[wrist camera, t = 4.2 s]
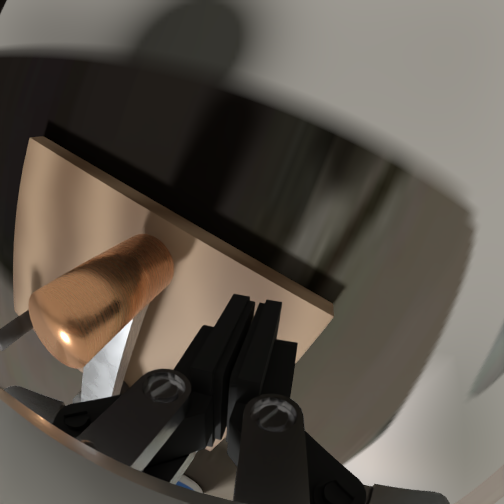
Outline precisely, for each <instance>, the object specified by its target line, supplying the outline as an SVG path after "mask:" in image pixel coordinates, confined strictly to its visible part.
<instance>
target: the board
mask: <svg viewBox="0 0 504 504" xmlns="http://www.w3.org/2000/svg"><path fill="white" fill-rule="evenodd" d="M138 234H148V235H151V236H154V237H156V238H157V239H159V240H160V241H161V242H162V243H163V244H164V245H165V246H166V247H167V249H168V250H169V252H170V254H171V256H172V259H173V263H174V274H173V278H172V280H171V282H170V284H169V285H168V286H167V287H166V288H165V289H164V290H163V291H162V292H160V293H159V294H158V295H157V296H156V297H155V298H154V299H153V300H152V301H151V302H150V303H149V305H148V308H147V311H146V313H145V316H144V319H143V322H142V325H141V328H140V331H139V334H138V336H137V339H136V342H135V345H134V349H133V352H132V355H131V358H130V361H129V364H128V367H127V371H126V374H125V377H124V380H123V384H122V387H121V391H120V394H123V393H125V392H126V391H127V390H128V389H129V388H130V387H131V386H132V385H133V384H134V383H135V382H136V381H137V380H138V379H139V378H140V377H141V376H143V375H144V374H146V373H147V372H149V371H152V370H156V369H172V370H174V368H175V366H176V365H177V363H178V362H179V360H180V359H181V357H182V356H183V354H184V353H185V351H186V350H187V348H188V347H189V345H190V344H191V342H192V341H193V339H194V337H195V336H196V334H197V333H198V331H199V330H200V328H201V327H202V326H203V325H208V326H212V327H214V326H215V324H216V323H217V321H218V319H219V318H220V316H221V314H222V312H223V311H224V309H225V307H226V306H227V304H228V302H229V301H230V299H231V297H232V295H233V294H239V295H244V296H250V301H254V302H255V310H254V315H255V313H256V310H257V308H258V305H259V303H265V302H266V300H273V301H279V302H282V309H281V315H280V321H279V327H278V333H277V339H279V340H285V341H291V342H297V343H298V346H297V353H296V361H295V363H296V362H297V361H298V360H299V359H300V358H301V356H302V355H303V354H304V353H305V352H306V350H307V349H308V348H309V347H310V346H311V344H312V343H313V342H314V341H315V340H316V338H317V337H318V336H319V335H320V333H321V332H322V331H323V330H324V329H325V327H326V326H327V325H328V323H329V322H330V321H331V320H332V318H333V317H334V312H333V303H331V302H329V301H327V300H326V299H324V298H322V297H320V296H319V295H317V294H315V293H313V292H312V291H310V290H308V289H306V288H305V287H303V286H301V285H299V284H298V283H296V282H294V281H292V280H291V279H289V278H287V277H285V276H284V275H282V274H280V273H278V272H277V271H275V270H273V269H271V268H270V267H268V266H266V265H264V264H263V263H261V262H259V261H257V260H256V259H254V258H252V257H250V256H249V255H247V254H245V253H244V252H242V251H240V250H238V249H237V248H235V247H233V246H231V245H230V244H228V243H226V242H224V241H223V240H221V239H219V238H217V237H216V236H214V235H212V234H211V233H209V232H207V231H205V230H204V229H202V228H200V227H198V226H197V225H195V224H193V223H191V222H190V221H188V220H186V219H185V218H183V217H181V216H179V215H178V214H176V213H174V212H172V211H171V210H169V209H167V208H166V207H164V206H162V205H160V204H159V203H157V202H155V201H153V200H152V199H150V198H148V197H147V196H145V195H143V194H141V193H140V192H138V191H136V190H135V189H133V188H131V187H129V186H128V185H126V184H124V183H122V182H121V181H119V180H117V179H116V178H114V177H112V176H110V175H109V174H107V173H105V172H104V171H102V170H100V169H98V168H97V167H95V166H93V165H92V164H90V163H88V162H87V161H85V160H83V159H81V158H80V157H78V156H76V155H75V154H73V153H71V152H69V151H68V150H66V149H64V148H63V147H61V146H59V145H58V144H56V143H54V142H52V141H51V140H49V139H47V138H46V137H44V136H43V137H30V139H29V143H28V148H27V152H26V157H25V162H24V167H23V172H22V177H21V183H20V190H19V197H18V205H17V213H16V223H15V236H14V258H13V288H14V309H15V312H16V313H17V314H18V315H19V316H18V317H17V318H15V319H14V320H12V321H11V322H10V323H8V324H7V325H5V326H4V327H2V328H1V329H0V350H1V351H3V350H4V349H6V348H7V347H8V346H10V345H11V344H12V343H13V342H15V341H16V340H17V339H19V338H20V337H21V336H23V335H24V334H25V333H27V332H28V331H29V330H31V329H33V330H34V331H35V329H34V327H33V325H32V322H31V319H30V315H29V307H28V304H29V298H30V296H31V294H32V293H33V292H35V291H36V290H38V289H40V288H41V287H43V286H45V285H46V284H48V283H50V282H51V281H53V280H55V279H56V278H58V277H60V276H61V275H63V274H65V273H67V272H68V271H70V270H72V269H74V268H75V267H77V266H79V265H81V264H83V263H84V262H86V261H88V260H90V259H92V258H93V257H95V256H97V255H99V254H101V253H103V252H104V251H106V250H108V249H110V248H112V247H114V246H116V245H118V244H119V243H121V242H123V241H125V240H127V239H129V238H131V237H133V236H135V235H138ZM35 332H36V331H35ZM83 369H84V367H83V368H78V370H80V371H81V372H82V373H83ZM120 394H119V395H120ZM226 432H227V427H226V430H225V432H224V435H223V438H222V440H223V439H224V438H225V437H226ZM222 440H218V439H215V442H214V444H213V447H209V446H207V447H206V448H205V449H206V450H209V451H211V450H212V449H213V448H214V447H215V446H216V445H218V444H219V443H220V442H221V441H222ZM196 452H197V451H196Z"/></svg>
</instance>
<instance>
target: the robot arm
mask: <svg viewBox="0 0 504 504" xmlns="http://www.w3.org/2000/svg"><path fill="white" fill-rule="evenodd" d="M281 309H282V302H279V301H273V300H266V302H265V303H259V305H258V308H257V310H256V313H255V315H254V310H255V302H254V301H250V296H244V295H239V294H233V295H232V297H231V299H230V301H229V302H228V304H227V306H226V307H225V309H224V311H223V312H222V314H221V316H220V318H219V319H218V321H217V323H216V324H215V326H214V327H212V326H208V325H203V326H202V327H201V328H200V330H199V331H198V333H197V334H196V336H195V337H194V339H193V341H192V342H191V344H190V345H189V347H188V348H187V350H186V351H185V353H184V354H183V356H182V357H181V359H180V360H179V362H178V363H177V365H176V366H175V368H174V370H172V369H156V370H152V371H149V372H147V373H146V374H144V375H143V376H141V377H140V378H139V379H138V380H137V381H136V382H135V383H134V384H133V385H132V386H131V387H130V388H129V389H128V390H127V391H126V392H125V393H123V394H120V395H115V396H110V397H105V398H100V399H95V400H90V401H84V402H78V403H73V404H70V405H67V406H65V404H64V402H63V401H59V400H56V399H53V398H50V397H47V396H44V395H42V394H39V393H36V392H33V391H31V390H28V389H26V388H23V387H20V386H10V387H8V388H6V389H4V390H3V389H1V388H0V504H450V503H449V502H448V500H447V498H446V497H445V496H443V495H442V494H440V493H436V492H431V491H420V490H411V489H403V488H396V487H389V486H384V485H378V484H374V485H373V486H367V485H363V484H362V483H361V481H360V480H359V479H358V478H357V477H355V476H354V475H353V474H352V473H351V472H350V471H348V470H347V469H346V468H345V467H344V466H343V465H342V464H340V463H339V462H338V461H337V460H336V459H335V458H334V457H333V456H332V455H330V454H329V453H328V452H327V451H326V450H325V449H324V448H323V447H322V446H321V445H320V444H318V443H317V442H316V441H315V440H314V439H313V438H312V437H311V436H310V435H309V434H308V433H307V432H306V431H305V428H304V416H303V413H302V409H301V408H300V406H299V405H298V404H297V403H296V402H295V401H293V400H292V399H291V398H290V394H291V388H292V381H293V374H294V368H295V361H296V353H297V346H298V343H297V342H291V341H285V340H279V339H277V333H278V327H279V321H280V315H281ZM226 427H227V432H226V442H228V449H227V454H228V455H229V457H230V458H231V459H232V461H233V462H234V463H235V465H236V466H237V470H236V479H235V488H234V496H233V501H231V500H227V499H223V498H219V497H215V496H211V495H207V494H204V493H200V492H197V491H194V490H190V489H187V488H184V487H181V486H178V485H176V483H177V482H178V480H179V479H180V478H181V476H182V475H183V473H184V472H185V470H186V469H187V468H188V466H189V465H190V463H191V462H192V460H193V459H194V457H195V454H196V451H199V450H202V449H205V448H206V447H207V446H209V447H213V444H214V442H215V439H218V440H222V438H223V435H224V432H225V430H226Z"/></svg>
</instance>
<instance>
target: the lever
mask: <svg viewBox="0 0 504 504" xmlns="http://www.w3.org/2000/svg"><path fill="white" fill-rule="evenodd" d="M173 274H174V263H173V259H172V256H171V254H170V252H169V250H168V249H167V247H166V246H165V245H164V244H163V243H162V242H161V241H160V240H159V239H157V238H156V237H154V236H151V235H148V234H138V235H135V236H133V237H131V238H129V239H127V240H125V241H123V242H121V243H119V244H118V245H116V246H114V247H112V248H110V249H108V250H106V251H104V252H103V253H101V254H99V255H97V256H95V257H93V258H92V259H90V260H88V261H86V262H84V263H83V264H81V265H79V266H77V267H75V268H74V269H72V270H70V271H68V272H67V273H65V274H63V275H61V276H60V277H58V278H56V279H55V280H53V281H51V282H50V283H48V284H46V285H45V286H43V287H41V288H40V289H38V290H36V291H35V292H33V293H32V294H31V296H30V298H29V304H28V307H29V315H30V319H31V322H32V325H33V327H34V329H35V331H36V333H37V335H38V337H39V339H40V340H41V342H42V343H43V344H44V346H45V347H46V348H47V350H48V351H49V352H50V353H51V354H52V355H53V356H54V357H55V358H57V359H58V360H59V361H60V362H62V363H63V364H65V365H67V366H69V367H72V368H77V369H78V368H83V367H84V369H83V379H82V390H81V391H80V392H79V393H78V394H77V395H76V396H75V397H74V399H73V403H78V402H84V401H90V400H95V399H100V398H105V397H110V396H115V395H119V394H120V391H121V387H122V384H123V380H124V377H125V374H126V371H127V367H128V364H129V361H130V358H131V355H132V352H133V349H134V345H135V342H136V339H137V336H138V334H139V331H140V328H141V325H142V322H143V319H144V316H145V313H146V311H147V308H148V305H149V303H150V302H151V301H152V300H153V299H154V298H155V297H156V296H157V295H158V294H159V293H160V292H162V291H163V290H164V289H165V288H166V287H167V286H168V285H169V284H170V282H171V280H172V278H173Z"/></svg>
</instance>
